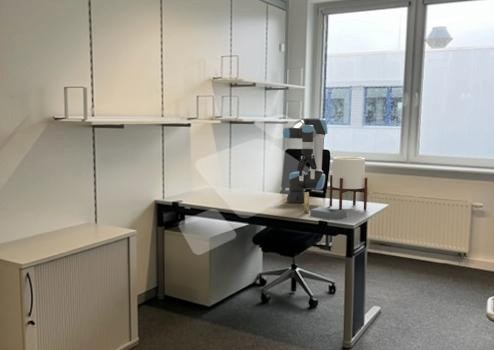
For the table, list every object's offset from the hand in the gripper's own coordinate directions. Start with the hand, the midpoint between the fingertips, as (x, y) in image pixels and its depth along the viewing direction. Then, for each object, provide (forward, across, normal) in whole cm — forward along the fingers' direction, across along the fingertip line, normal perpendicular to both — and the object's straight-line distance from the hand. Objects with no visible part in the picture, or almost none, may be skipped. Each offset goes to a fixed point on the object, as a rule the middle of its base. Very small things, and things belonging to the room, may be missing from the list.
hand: (306, 179), depth 326 cm
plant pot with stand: (+23, +35, -12) cm, 44 cm away
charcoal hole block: (+23, 0, -17) cm, 28 cm away
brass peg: (+22, 0, 0) cm, 23 cm away
